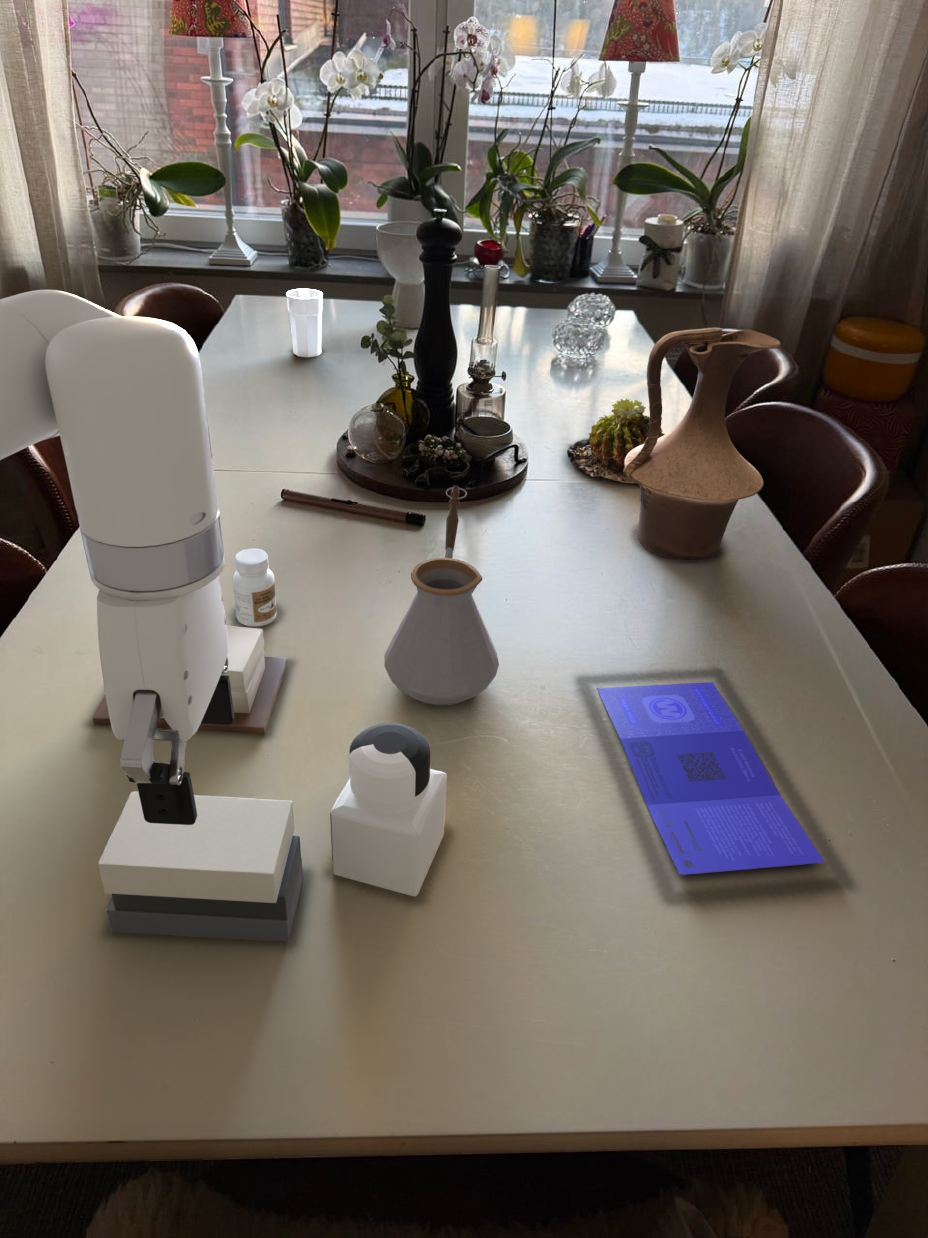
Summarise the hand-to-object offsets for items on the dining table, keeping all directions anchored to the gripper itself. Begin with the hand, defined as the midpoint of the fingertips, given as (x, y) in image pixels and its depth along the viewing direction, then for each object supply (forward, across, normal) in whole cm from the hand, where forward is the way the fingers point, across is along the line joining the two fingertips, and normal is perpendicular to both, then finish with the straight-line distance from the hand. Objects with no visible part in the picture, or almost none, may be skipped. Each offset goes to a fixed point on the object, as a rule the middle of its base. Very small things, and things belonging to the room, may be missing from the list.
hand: (193, 767), depth 63 cm
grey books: (+14, 0, 0) cm, 14 cm away
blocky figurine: (+14, -6, +12) cm, 20 cm away
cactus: (+14, -86, +40) cm, 96 cm away
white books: (+14, -25, -8) cm, 30 cm away
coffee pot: (+14, -34, +16) cm, 40 cm away
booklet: (+15, -18, +40) cm, 46 cm away
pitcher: (+15, -62, +44) cm, 78 cm away
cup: (+13, -129, -16) cm, 131 cm away
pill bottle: (+14, -39, -6) cm, 42 cm away
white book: (+9, 0, 0) cm, 9 cm away
